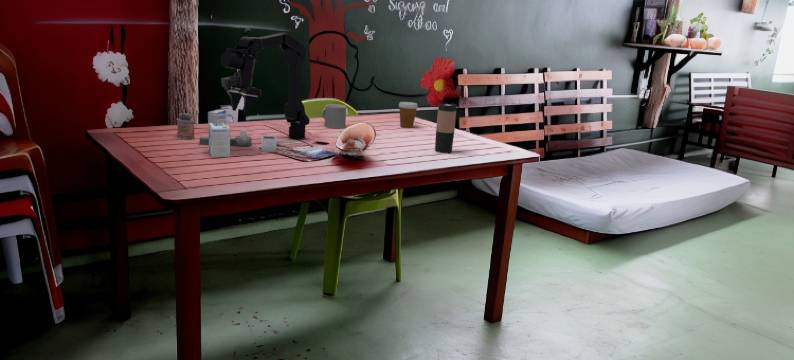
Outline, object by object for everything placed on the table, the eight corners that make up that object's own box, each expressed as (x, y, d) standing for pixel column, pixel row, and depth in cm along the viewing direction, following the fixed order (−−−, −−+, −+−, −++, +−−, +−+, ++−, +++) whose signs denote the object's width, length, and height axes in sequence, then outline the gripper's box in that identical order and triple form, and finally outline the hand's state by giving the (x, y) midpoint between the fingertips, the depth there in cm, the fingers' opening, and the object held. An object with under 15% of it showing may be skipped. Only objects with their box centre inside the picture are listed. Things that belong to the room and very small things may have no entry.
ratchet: (251, 143, 243) (251, 128, 242) (251, 147, 237) (251, 132, 236) (200, 142, 239) (200, 127, 238) (199, 145, 233) (198, 130, 232)
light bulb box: (208, 150, 227) (207, 122, 224) (226, 150, 230) (226, 122, 227) (211, 157, 218) (211, 128, 215) (230, 157, 221) (230, 128, 218)
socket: (276, 148, 237) (276, 136, 236) (276, 152, 232) (276, 139, 231) (261, 148, 236) (261, 135, 235) (261, 151, 231) (261, 139, 230)
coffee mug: (349, 128, 288) (350, 107, 285) (331, 129, 281) (332, 108, 279) (333, 122, 297) (334, 102, 295) (316, 124, 291) (317, 103, 288)
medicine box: (217, 132, 257) (217, 112, 255) (208, 131, 258) (207, 111, 256) (226, 129, 265) (226, 110, 263) (217, 128, 266) (216, 109, 263)
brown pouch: (175, 137, 244) (174, 112, 241) (180, 135, 247) (180, 111, 244) (191, 140, 241) (190, 115, 239) (196, 138, 244) (196, 114, 242)
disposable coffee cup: (404, 124, 306) (406, 101, 303) (419, 127, 301) (421, 103, 298) (393, 126, 299) (394, 102, 295) (408, 129, 294) (410, 105, 290)
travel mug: (440, 153, 249) (444, 105, 244) (430, 149, 256) (435, 102, 250) (455, 153, 253) (460, 105, 247) (446, 148, 259) (450, 102, 254)
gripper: (214, 65, 228) (208, 106, 230) (237, 69, 215) (231, 112, 216) (241, 70, 236) (235, 110, 238) (264, 74, 222) (258, 116, 224)
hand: (239, 112), depth 229 cm, fingers open, 9 cm apart
